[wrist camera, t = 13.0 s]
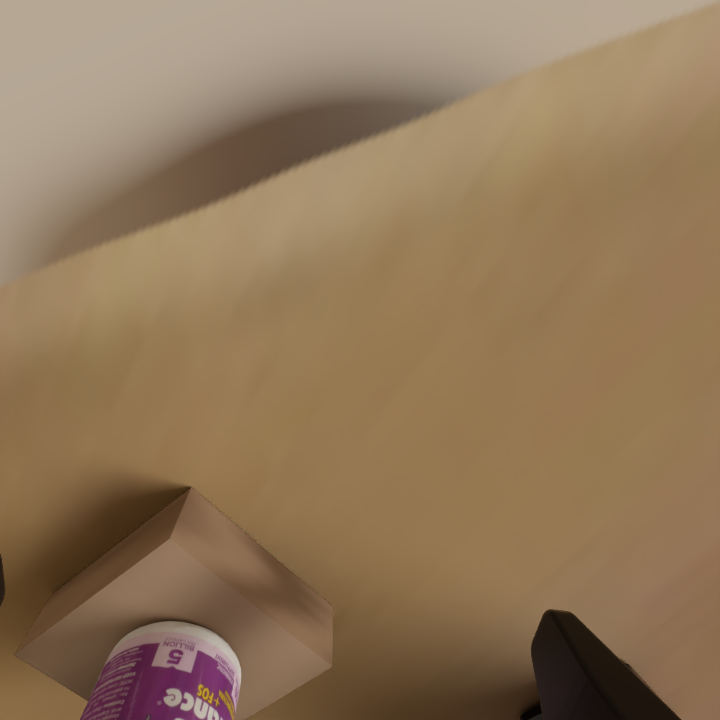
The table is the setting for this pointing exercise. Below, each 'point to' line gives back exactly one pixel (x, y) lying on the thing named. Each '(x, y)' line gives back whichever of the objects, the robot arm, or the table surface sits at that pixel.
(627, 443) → the table surface
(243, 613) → the tan flat square block
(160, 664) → the pill bottle
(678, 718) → the robot arm
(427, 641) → the table surface
